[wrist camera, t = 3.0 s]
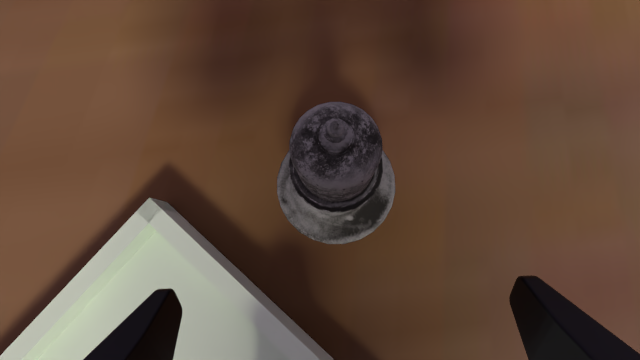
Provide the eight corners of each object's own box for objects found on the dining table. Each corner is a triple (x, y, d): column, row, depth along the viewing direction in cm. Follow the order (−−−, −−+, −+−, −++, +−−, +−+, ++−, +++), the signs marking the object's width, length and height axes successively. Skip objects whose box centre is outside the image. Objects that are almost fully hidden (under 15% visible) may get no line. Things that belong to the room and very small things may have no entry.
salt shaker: (294, 142, 21) (242, 12, 9) (389, 152, 21) (460, 31, 9) (279, 237, 20) (200, 225, 8) (380, 250, 20) (446, 258, 8)
